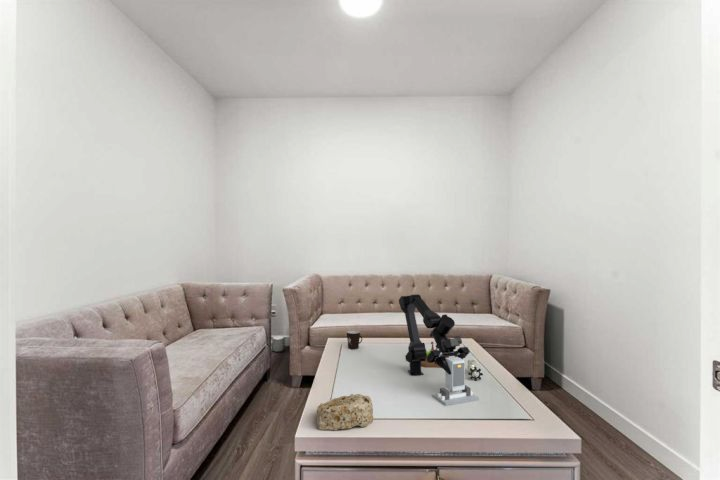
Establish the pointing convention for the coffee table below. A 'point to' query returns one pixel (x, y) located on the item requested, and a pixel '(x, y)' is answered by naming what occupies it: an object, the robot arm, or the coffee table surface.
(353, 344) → the coffee mug
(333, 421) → the rock
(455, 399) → the rail
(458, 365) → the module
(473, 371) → the valve
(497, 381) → the coffee table surface
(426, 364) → the plant
